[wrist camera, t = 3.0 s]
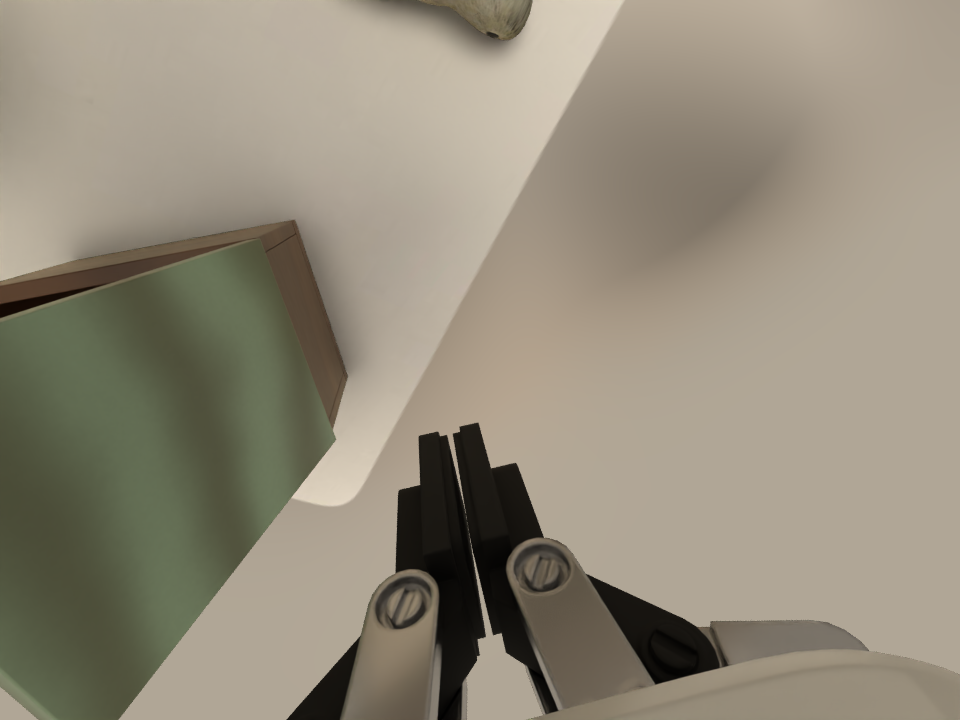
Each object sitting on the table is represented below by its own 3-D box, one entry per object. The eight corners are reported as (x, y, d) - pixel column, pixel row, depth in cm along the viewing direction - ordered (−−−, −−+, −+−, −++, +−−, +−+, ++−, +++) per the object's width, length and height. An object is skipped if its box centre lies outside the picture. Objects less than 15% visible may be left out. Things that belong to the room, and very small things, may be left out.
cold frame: (163, 416, 31) (93, 488, 24) (73, 260, 26) (-49, 294, 19) (348, 377, 32) (332, 435, 25) (294, 219, 27) (256, 237, 20)
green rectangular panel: (71, 750, 12) (92, 754, 12) (-314, 417, 7) (-290, 416, 7) (324, 440, 25) (336, 439, 25) (245, 240, 20) (260, 238, 20)
